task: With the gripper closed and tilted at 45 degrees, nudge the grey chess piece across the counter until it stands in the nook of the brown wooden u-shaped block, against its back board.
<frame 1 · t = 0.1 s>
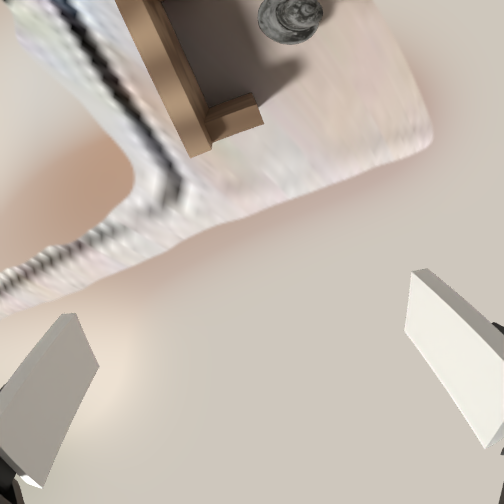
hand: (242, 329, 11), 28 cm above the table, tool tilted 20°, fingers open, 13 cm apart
brown wooden u-shaped block: (175, 57, 27), on the table
grey chess piece: (282, 20, 26), on the table
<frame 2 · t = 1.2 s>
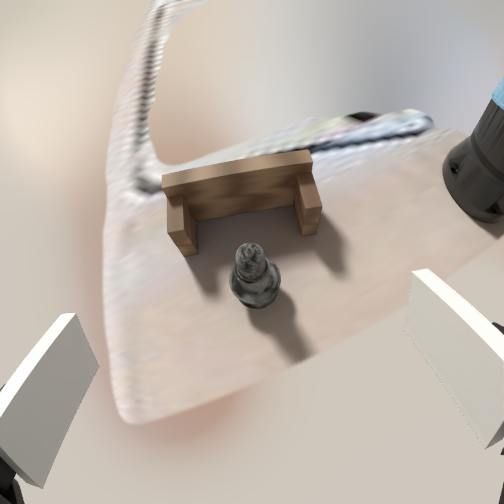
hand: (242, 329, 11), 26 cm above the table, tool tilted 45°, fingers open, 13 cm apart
brown wooden u-shaped block: (243, 206, 44), on the table
grey chess piece: (256, 288, 39), on the table
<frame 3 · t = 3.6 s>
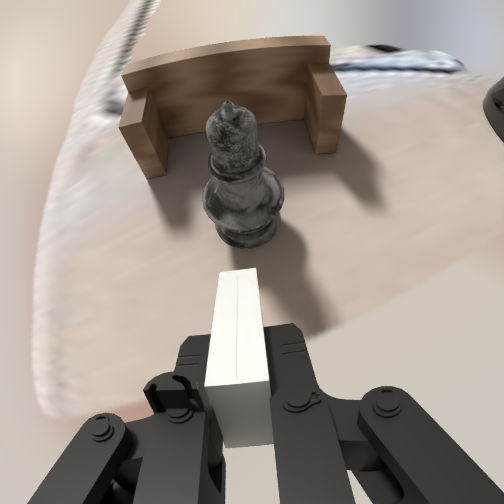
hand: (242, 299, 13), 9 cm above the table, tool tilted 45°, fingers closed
brown wooden u-shaped block: (235, 120, 30), on the table
grey chess piece: (247, 219, 25), on the table
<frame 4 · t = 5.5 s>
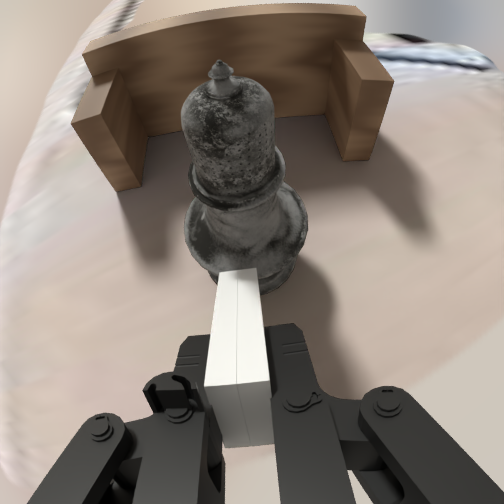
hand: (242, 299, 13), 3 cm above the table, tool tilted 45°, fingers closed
brown wooden u-shaped block: (234, 114, 23), on the table
grey chess piece: (250, 253, 18), on the table, touching gripper
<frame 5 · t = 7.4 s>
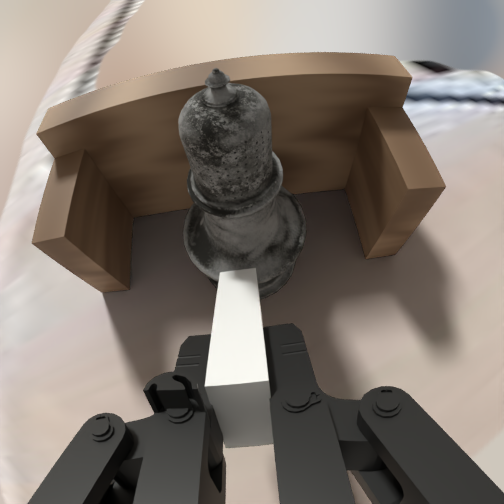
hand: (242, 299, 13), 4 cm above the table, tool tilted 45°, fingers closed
brown wooden u-shaped block: (236, 188, 20), on the table
grey chess piece: (249, 257, 18), on the table, touching gripper
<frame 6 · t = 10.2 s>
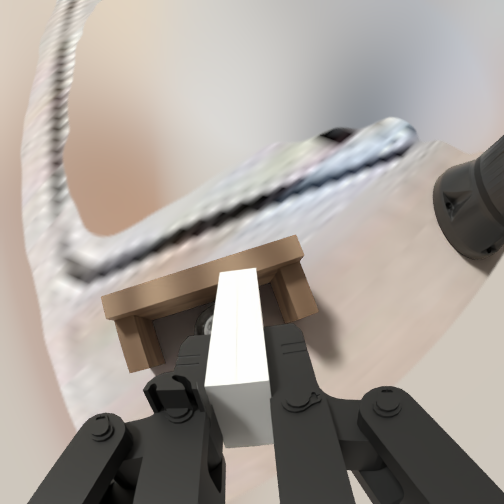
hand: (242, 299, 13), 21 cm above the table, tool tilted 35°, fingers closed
brown wooden u-shaped block: (207, 293, 34), on the table
grey chess piece: (224, 333, 33), on the table
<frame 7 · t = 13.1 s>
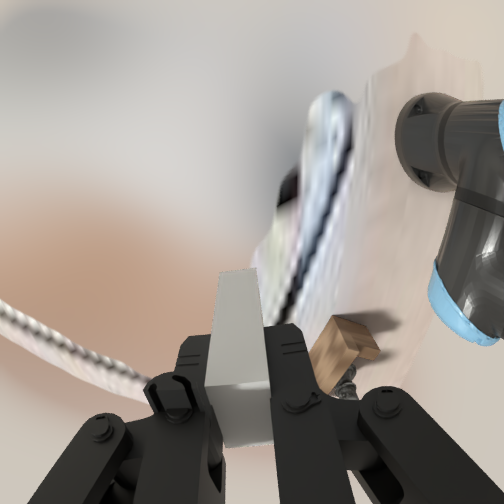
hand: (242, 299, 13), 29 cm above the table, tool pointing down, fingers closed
brown wooden u-shaped block: (311, 357, 51), on the table
grey chess piece: (334, 361, 52), on the table
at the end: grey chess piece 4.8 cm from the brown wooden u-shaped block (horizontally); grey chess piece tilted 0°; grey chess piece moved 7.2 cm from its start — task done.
